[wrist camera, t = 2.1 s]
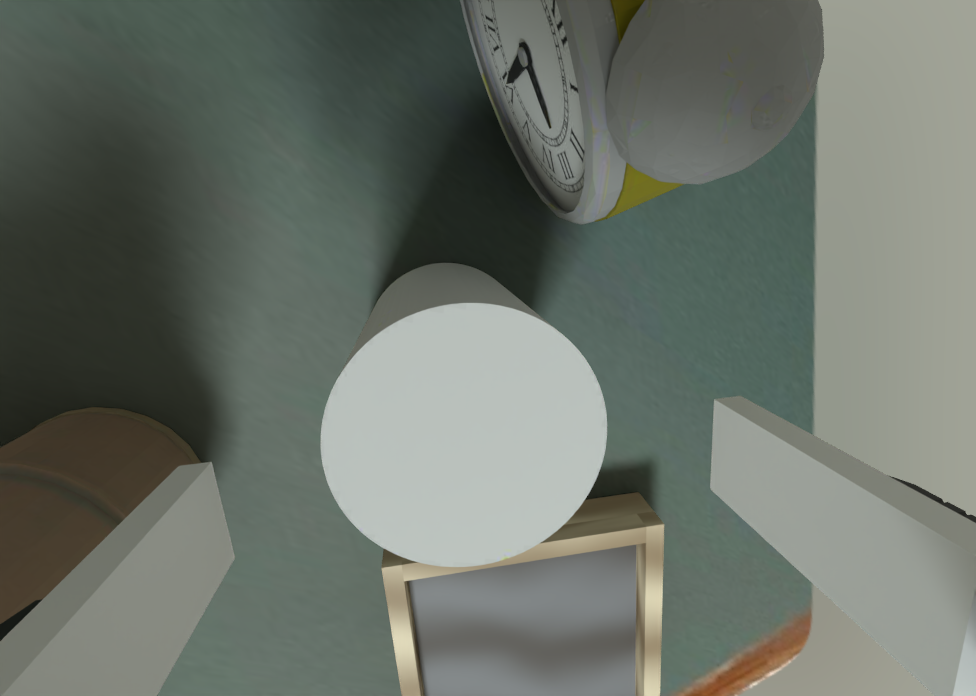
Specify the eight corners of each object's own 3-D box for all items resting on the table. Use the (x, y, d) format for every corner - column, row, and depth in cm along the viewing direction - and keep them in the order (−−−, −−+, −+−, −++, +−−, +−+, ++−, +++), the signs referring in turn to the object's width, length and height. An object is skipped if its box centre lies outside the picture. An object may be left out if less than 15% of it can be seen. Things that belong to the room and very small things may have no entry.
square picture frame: (385, 529, 28) (381, 568, 25) (638, 492, 29) (664, 524, 26) (416, 728, 32) (415, 783, 29) (636, 685, 33) (659, 733, 30)
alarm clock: (430, -28, 21) (454, -558, 7) (574, -90, 21) (901, -743, 7) (528, 228, 24) (685, 242, 10) (652, 173, 25) (981, 109, 10)
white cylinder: (342, 380, 25) (276, 517, 14) (405, 234, 24) (393, 250, 12) (482, 435, 27) (529, 598, 15) (549, 303, 26) (656, 373, 14)
